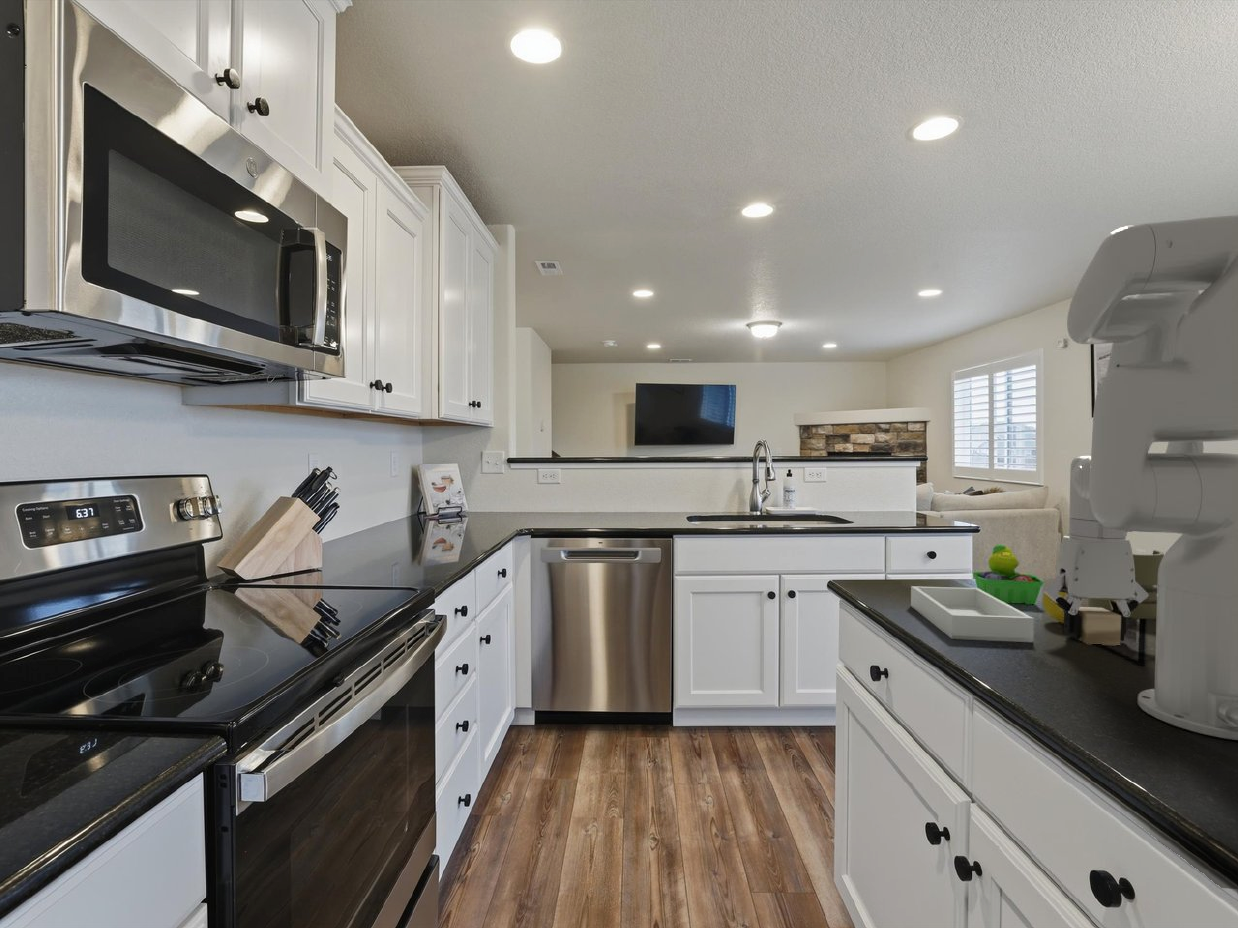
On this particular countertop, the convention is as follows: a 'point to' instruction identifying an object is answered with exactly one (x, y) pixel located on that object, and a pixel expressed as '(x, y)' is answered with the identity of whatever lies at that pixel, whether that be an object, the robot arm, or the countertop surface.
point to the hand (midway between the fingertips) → (1094, 636)
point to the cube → (1099, 626)
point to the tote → (972, 614)
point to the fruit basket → (1007, 579)
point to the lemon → (1053, 607)
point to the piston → (1146, 579)
